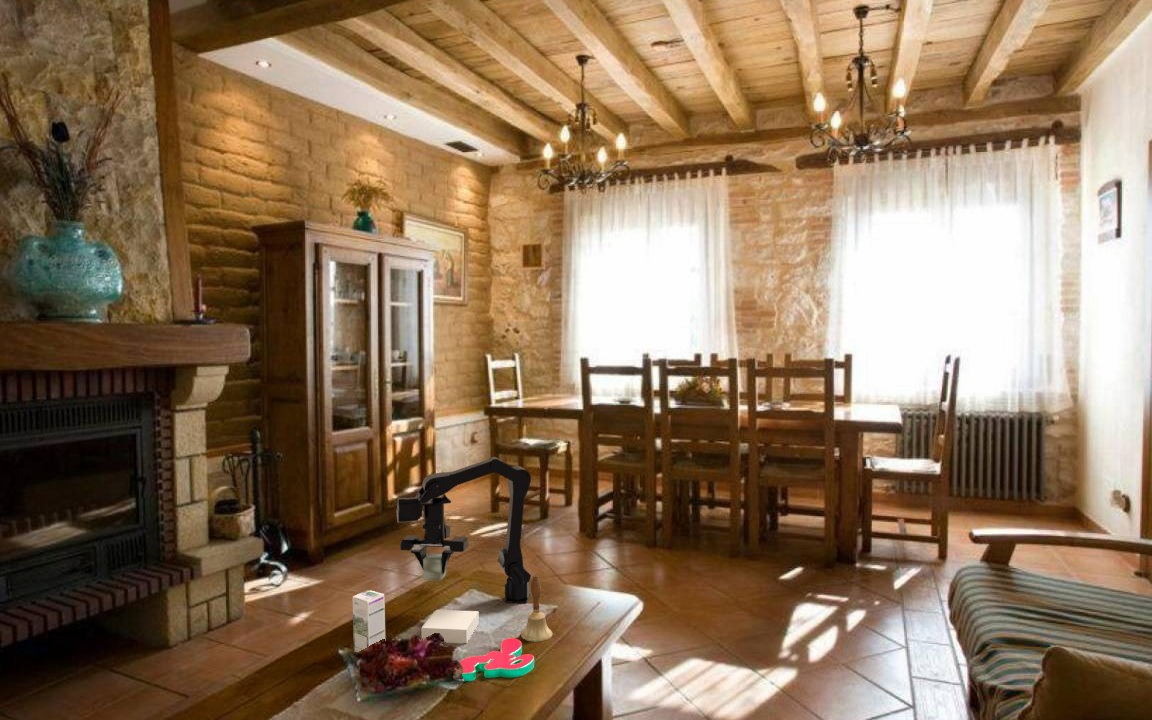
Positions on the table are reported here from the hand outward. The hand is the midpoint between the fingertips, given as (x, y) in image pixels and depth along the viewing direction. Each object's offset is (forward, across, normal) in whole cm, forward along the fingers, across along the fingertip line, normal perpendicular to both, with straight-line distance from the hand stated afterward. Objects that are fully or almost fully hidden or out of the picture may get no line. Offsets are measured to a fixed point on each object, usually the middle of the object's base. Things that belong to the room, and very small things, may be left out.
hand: (434, 572), depth 199 cm
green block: (+1, 0, 0) cm, 1 cm away
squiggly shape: (+12, -24, +31) cm, 41 cm away
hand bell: (+11, -32, +13) cm, 36 cm away
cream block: (+11, -9, +14) cm, 20 cm away
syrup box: (+11, +8, +27) cm, 30 cm away
